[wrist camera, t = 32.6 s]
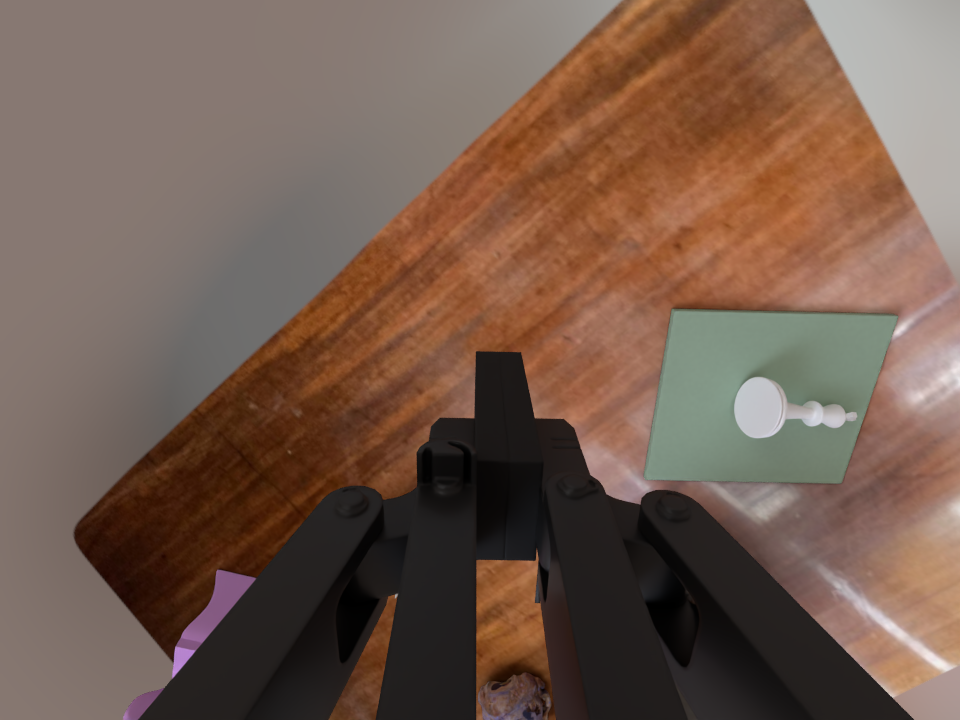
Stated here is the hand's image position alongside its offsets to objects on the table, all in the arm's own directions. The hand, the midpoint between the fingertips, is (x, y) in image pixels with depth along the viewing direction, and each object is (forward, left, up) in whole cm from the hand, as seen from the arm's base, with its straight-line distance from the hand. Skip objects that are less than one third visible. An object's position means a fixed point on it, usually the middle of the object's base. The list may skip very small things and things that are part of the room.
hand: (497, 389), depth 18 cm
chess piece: (+11, +22, -21) cm, 32 cm away
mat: (+12, +24, -24) cm, 36 cm away
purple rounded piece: (+50, +5, -25) cm, 56 cm away
